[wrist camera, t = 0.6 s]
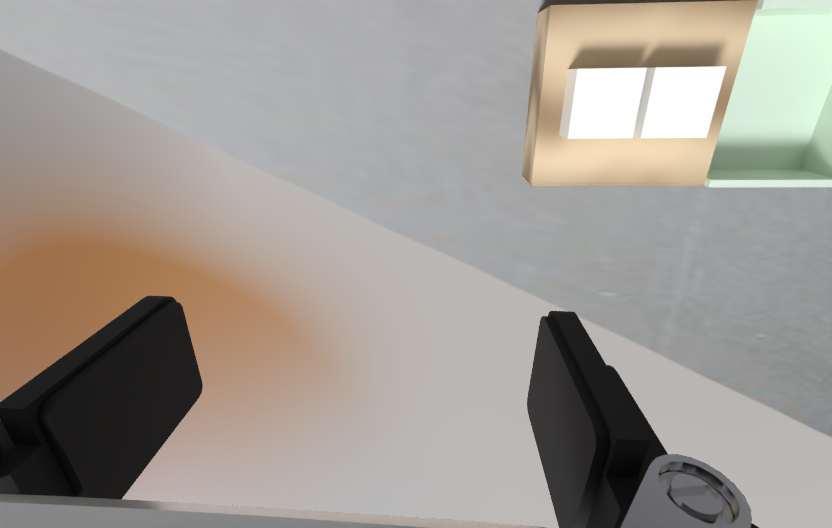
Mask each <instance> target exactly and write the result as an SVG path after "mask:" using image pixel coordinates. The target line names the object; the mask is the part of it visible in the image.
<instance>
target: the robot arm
mask: <svg viewBox="0 0 832 528" xmlns="http://www.w3.org/2000/svg"><path fill="white" fill-rule="evenodd" d="M201 392H202V380H201V376H200V372H199V369H198V365H197V361H196V357H195V353H194V350H193V346H192V342H191V338H190V334H189V331H188V327H187V323H186V319H185V315H184V312H183V308H182V305H181V304H180V303H178V302H176V300H175V299H174V298H173V297H167V296H147V297H145V298H143V299H142V300H140V301H139V302H138V303H136V304H135V305H133V306H132V307H131V308H129V309H128V310H127V311H125V312H124V313H123V314H121V315H120V316H118V317H117V318H116V319H114V320H113V321H111V322H110V323H109V324H107V325H106V326H105V327H103V328H102V329H101V330H99V331H98V332H96V333H95V334H94V335H92V336H91V337H89V338H88V339H87V340H85V341H84V342H83V343H81V344H80V345H79V346H77V347H76V348H74V349H73V350H72V351H70V352H69V353H68V354H66V355H65V356H63V357H62V358H61V359H59V360H58V361H56V362H55V363H54V364H52V365H51V366H50V367H48V368H47V369H45V370H44V371H43V372H41V373H40V374H39V375H37V376H36V377H34V378H33V379H32V380H30V381H29V382H28V383H26V384H25V385H23V386H22V387H21V388H19V389H18V390H17V391H15V392H14V393H12V394H11V395H10V396H8V397H7V398H6V399H4V400H3V401H1V402H0V528H544V527H535V526H523V525H511V524H499V523H486V522H475V521H463V520H450V519H435V518H419V517H403V516H389V515H374V514H358V513H343V512H328V511H312V510H295V509H278V508H262V507H246V506H228V505H210V504H194V503H177V502H159V501H140V500H122V498H123V496H124V495H125V494H126V492H127V491H128V490H129V489H130V487H131V486H132V485H133V483H134V482H135V481H136V479H137V478H138V477H139V475H140V474H141V473H142V471H143V470H144V469H145V468H146V466H147V465H148V464H149V462H150V461H151V460H152V458H153V457H154V456H155V454H156V453H157V452H158V450H159V449H160V448H161V447H162V445H163V444H164V443H165V441H166V440H167V439H168V437H169V436H170V435H171V433H172V432H173V431H174V429H175V428H176V427H177V426H178V424H179V423H180V422H181V420H182V419H183V418H184V416H185V415H186V414H187V413H188V411H189V410H190V409H191V407H192V406H193V405H194V403H195V402H196V401H197V399H198V398H199V396H200V394H201ZM527 407H528V414H529V418H530V422H531V425H532V429H533V432H534V436H535V440H536V443H537V447H538V451H539V454H540V458H541V462H542V465H543V469H544V473H545V477H546V480H547V484H548V488H549V492H550V495H551V499H552V503H553V506H554V510H555V514H556V517H557V521H558V525H559V528H758V527H757V526H755V525H754V524H752V523H751V522H752V518H751V509H750V507H749V505H748V503H747V501H746V498H745V496H744V495H743V494H742V493H741V492H740V490H739V489H738V488H737V487H736V486H735V484H734V483H733V482H731V481H730V480H729V479H728V478H727V477H725V476H724V475H723V474H722V473H721V472H719V471H717V470H715V469H714V468H712V467H711V466H709V465H707V464H706V463H703V462H701V461H698V460H696V459H693V458H691V457H687V456H682V455H678V454H676V455H675V454H673V455H668V454H667V452H666V450H665V449H664V447H663V446H662V444H661V442H660V441H659V439H658V437H657V436H656V434H655V433H654V431H653V430H652V428H651V426H650V425H649V423H648V421H647V420H646V418H645V417H644V415H643V413H642V412H641V410H640V409H639V407H638V405H637V403H636V402H635V400H634V399H633V397H632V395H631V394H630V392H629V391H628V389H627V387H626V386H625V384H624V382H623V381H622V379H621V378H620V376H619V374H618V373H617V371H616V370H615V369H614V368H613V367H611V366H609V365H606V364H605V362H604V360H603V359H602V357H601V355H600V354H599V352H598V350H597V349H596V347H595V345H594V344H593V342H592V340H591V339H590V337H589V335H588V334H587V332H586V330H585V329H584V327H583V325H582V324H581V322H580V320H579V318H578V317H577V315H576V314H575V312H565V311H550V312H549V315H548V317H547V316H545V317H544V316H543V317H542V318H541V321H540V326H539V332H538V338H537V344H536V350H535V356H534V362H533V368H532V374H531V380H530V386H529V392H528V400H527Z"/></svg>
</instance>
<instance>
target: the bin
mask: <svg viewBox="0 0 832 528" xmlns="http://www.w3.org/2000/svg"><path fill="white" fill-rule="evenodd" d="M704 186H707V187H832V0H758V3H757V7H756V10H755V13H754V17H753V20H752V24H751V27H750V30H749V34H748V37H747V41H746V44H745V48H744V51H743V54H742V58H741V61H740V65H739V68H738V72H737V75H736V78H735V82H734V85H733V89H732V92H731V95H730V99H729V102H728V106H727V109H726V113H725V116H724V119H723V123H722V126H721V130H720V133H719V136H718V140H717V143H716V147H715V150H714V154H713V157H712V160H711V164H710V167H709V171H708V174H707V177H706V181H705V184H704Z"/></svg>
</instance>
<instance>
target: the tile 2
mask: <svg viewBox="0 0 832 528" xmlns="http://www.w3.org/2000/svg"><path fill="white" fill-rule="evenodd" d="M726 67H727V66H715V67H655V68H647V70H646V75H645V80H644V85H643V90H642V94H641V99H640V104H639V109H638V114H637V119H636V124H635V128H634V133H633V136H635V137H638V138H707V134H708V131H709V127H710V124H711V120H712V116H713V113H714V109H715V106H716V102H717V99H718V95H719V92H720V88H721V84H722V81H723V77H724V74H725V70H726Z"/></svg>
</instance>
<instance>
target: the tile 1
mask: <svg viewBox="0 0 832 528" xmlns="http://www.w3.org/2000/svg"><path fill="white" fill-rule="evenodd" d="M646 70H647V68H592V69H568V71H567V78H566V86H565V93H564V101H563V109H562V116H561V124H560V132H559V135H561V136H563V137H565V138H567V139H618V138H633V133H634V128H635V124H636V119H637V114H638V109H639V104H640V99H641V94H642V90H643V85H644V80H645V75H646Z"/></svg>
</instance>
